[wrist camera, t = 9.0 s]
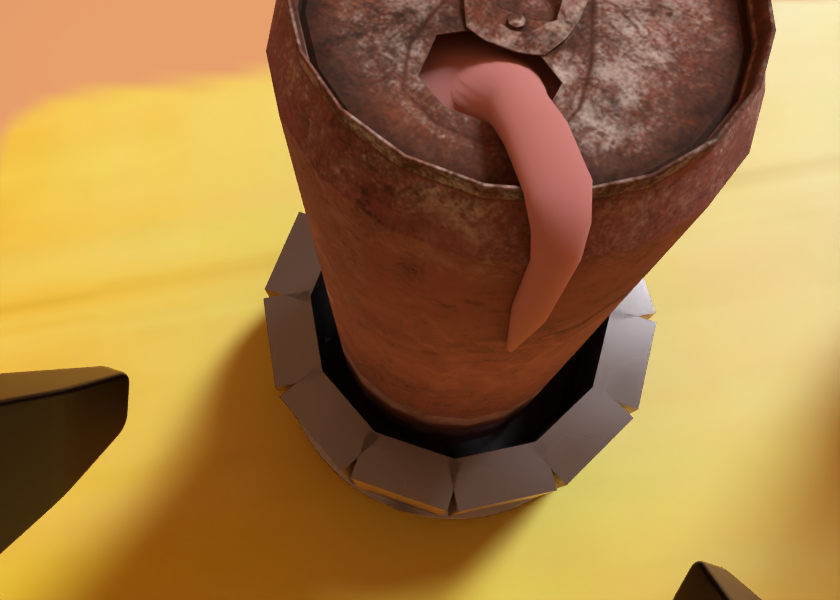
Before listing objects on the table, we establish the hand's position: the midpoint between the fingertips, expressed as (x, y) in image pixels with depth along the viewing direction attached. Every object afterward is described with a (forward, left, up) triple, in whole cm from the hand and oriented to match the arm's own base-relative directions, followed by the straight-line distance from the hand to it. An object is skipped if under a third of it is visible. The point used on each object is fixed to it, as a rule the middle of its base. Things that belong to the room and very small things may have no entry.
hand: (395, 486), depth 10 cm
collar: (+5, +3, -10) cm, 11 cm away
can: (+4, +3, -9) cm, 11 cm away
